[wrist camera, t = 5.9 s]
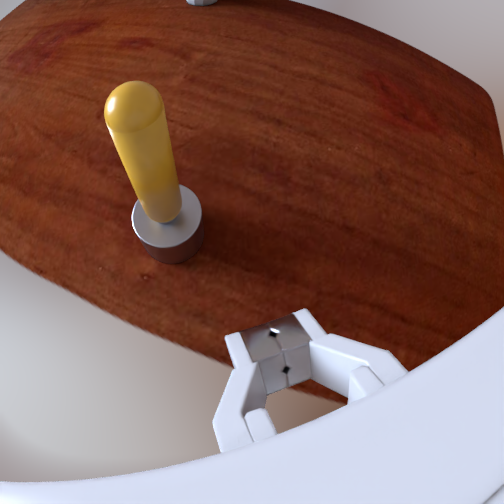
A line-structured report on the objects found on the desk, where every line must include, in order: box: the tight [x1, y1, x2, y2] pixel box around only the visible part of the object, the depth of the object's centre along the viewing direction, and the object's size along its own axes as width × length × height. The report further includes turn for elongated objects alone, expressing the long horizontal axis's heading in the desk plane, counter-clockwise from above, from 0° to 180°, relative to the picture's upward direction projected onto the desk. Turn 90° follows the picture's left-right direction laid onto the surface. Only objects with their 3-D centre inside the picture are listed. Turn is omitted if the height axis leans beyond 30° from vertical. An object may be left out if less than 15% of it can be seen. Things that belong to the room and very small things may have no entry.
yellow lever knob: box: [104, 81, 204, 264], centre depth 17 cm, size 5×5×14 cm
